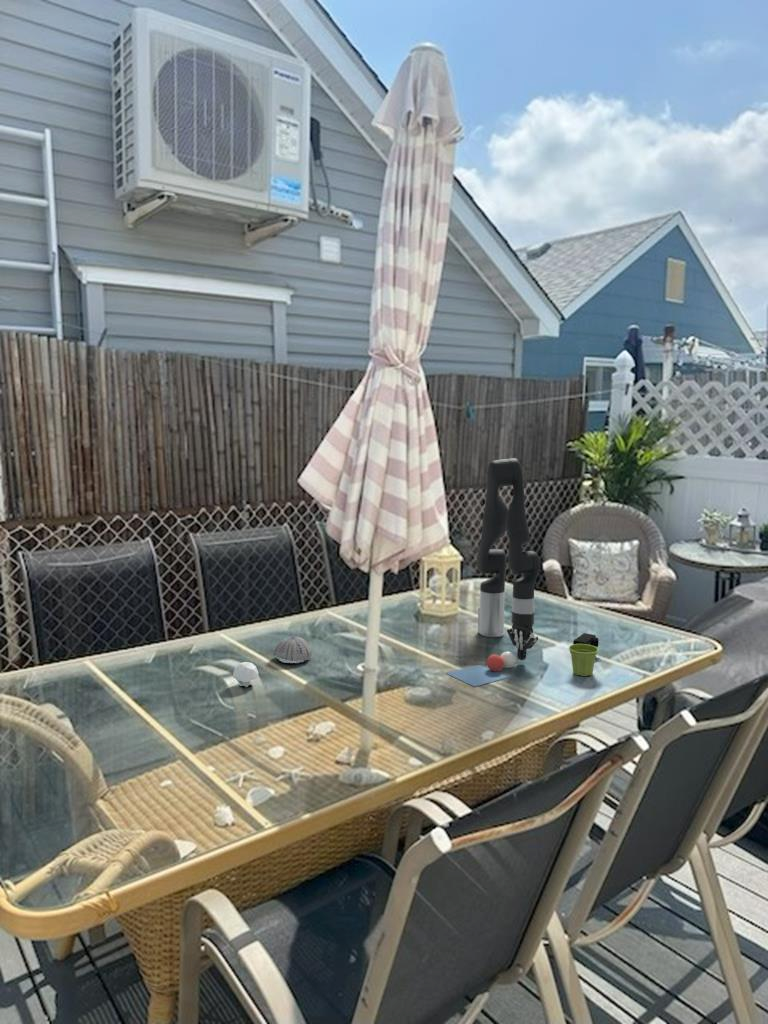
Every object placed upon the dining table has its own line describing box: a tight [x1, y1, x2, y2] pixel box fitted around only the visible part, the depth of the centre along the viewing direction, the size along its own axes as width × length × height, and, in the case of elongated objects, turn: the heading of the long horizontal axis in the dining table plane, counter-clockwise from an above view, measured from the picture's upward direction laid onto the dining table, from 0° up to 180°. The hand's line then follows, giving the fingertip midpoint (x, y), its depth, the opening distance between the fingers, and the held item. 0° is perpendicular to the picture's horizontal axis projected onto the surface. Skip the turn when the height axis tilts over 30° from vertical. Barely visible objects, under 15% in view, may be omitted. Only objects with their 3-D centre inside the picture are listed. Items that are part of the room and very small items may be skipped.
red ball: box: [486, 654, 504, 672], centre depth 237 cm, size 6×6×6 cm
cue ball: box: [499, 651, 517, 669], centre depth 240 cm, size 6×6×6 cm
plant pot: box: [568, 643, 599, 677], centre depth 234 cm, size 9×9×9 cm
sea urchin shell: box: [273, 636, 313, 661], centre depth 248 cm, size 13×14×8 cm
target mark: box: [446, 664, 508, 688], centre depth 233 cm, size 14×14×1 cm
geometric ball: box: [232, 661, 259, 682], centre depth 224 cm, size 8×8×8 cm
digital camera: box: [572, 632, 600, 649], centre depth 250 cm, size 10×5×7 cm, turn 144°
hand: (521, 659), depth 244 cm, fingers closed
